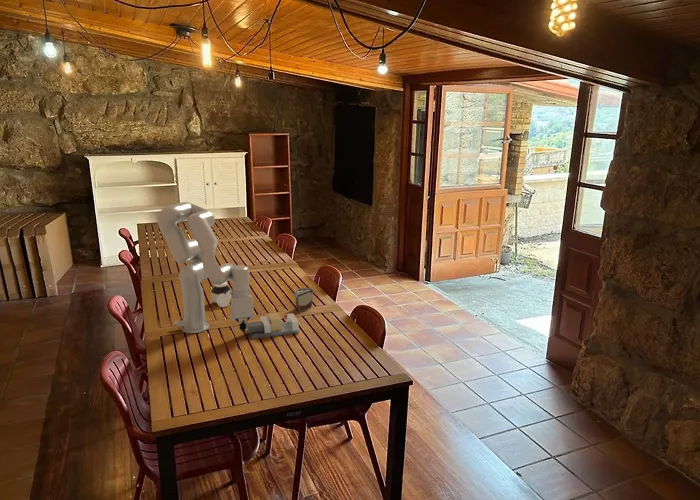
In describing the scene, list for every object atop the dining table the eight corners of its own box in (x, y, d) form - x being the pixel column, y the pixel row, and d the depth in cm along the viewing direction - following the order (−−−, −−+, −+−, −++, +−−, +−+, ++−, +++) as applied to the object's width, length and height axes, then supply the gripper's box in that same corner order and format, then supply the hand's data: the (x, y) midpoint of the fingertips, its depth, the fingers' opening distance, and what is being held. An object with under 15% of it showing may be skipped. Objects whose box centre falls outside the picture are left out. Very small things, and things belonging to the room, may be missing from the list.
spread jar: (223, 298, 276) (222, 279, 273) (238, 302, 271) (237, 282, 268) (206, 305, 266) (205, 284, 263) (222, 309, 261) (221, 288, 258)
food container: (305, 303, 271) (305, 286, 268) (313, 306, 267) (313, 288, 265) (289, 309, 262) (288, 291, 259) (297, 312, 258) (297, 294, 255)
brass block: (271, 331, 230) (271, 319, 229) (268, 325, 238) (267, 313, 236) (281, 330, 232) (280, 318, 230) (277, 324, 239) (277, 312, 238)
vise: (252, 339, 226) (251, 327, 225) (248, 329, 236) (247, 318, 235) (298, 332, 234) (298, 321, 232) (293, 323, 244) (293, 313, 242)
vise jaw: (249, 335, 225) (249, 327, 224) (245, 326, 235) (245, 318, 234) (271, 332, 229) (270, 324, 228) (266, 323, 239) (266, 316, 238)
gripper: (225, 297, 219) (227, 335, 223) (259, 293, 224) (260, 331, 228) (223, 292, 226) (225, 329, 230) (256, 288, 230) (257, 325, 235)
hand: (243, 330), depth 229 cm, fingers closed
